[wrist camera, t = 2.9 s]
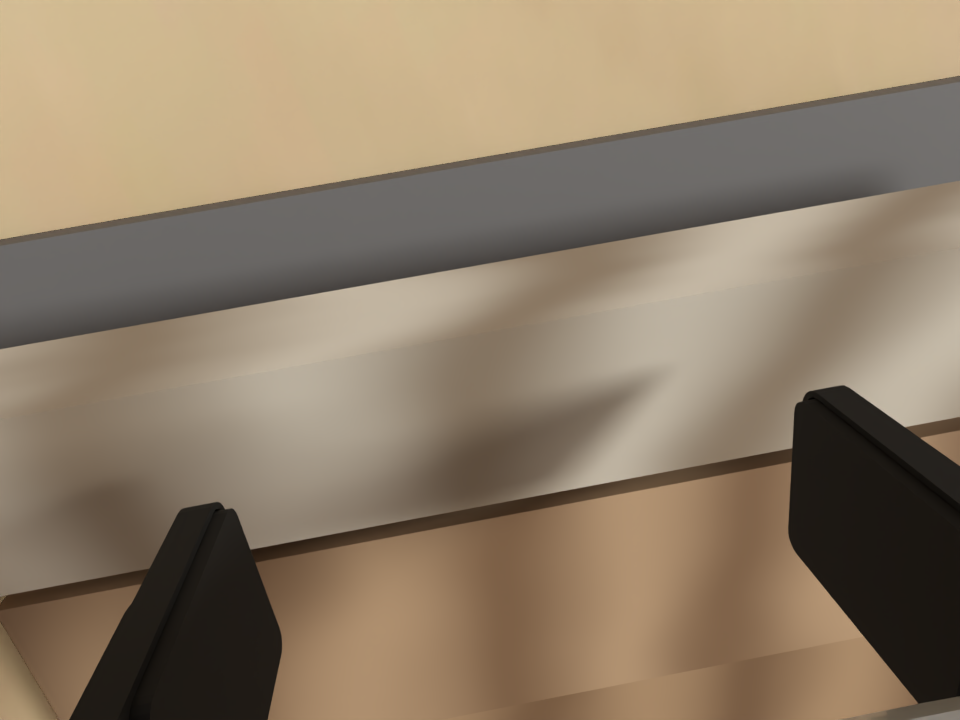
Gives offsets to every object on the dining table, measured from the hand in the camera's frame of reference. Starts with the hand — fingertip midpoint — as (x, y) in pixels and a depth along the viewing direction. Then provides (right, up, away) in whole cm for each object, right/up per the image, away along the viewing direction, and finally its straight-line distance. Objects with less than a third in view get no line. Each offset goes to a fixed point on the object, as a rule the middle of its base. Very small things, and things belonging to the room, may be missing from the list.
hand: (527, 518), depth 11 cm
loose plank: (0, +2, +3) cm, 4 cm away
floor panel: (0, -3, +9) cm, 9 cm away
